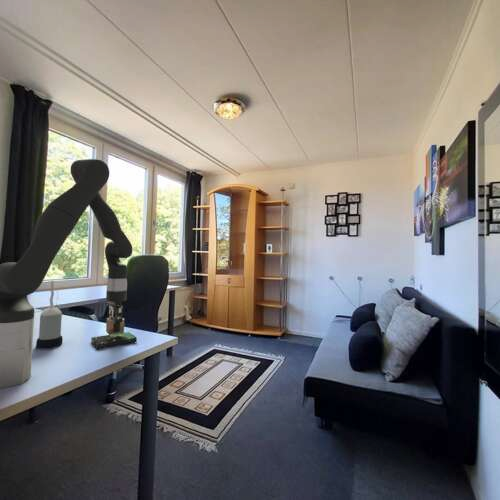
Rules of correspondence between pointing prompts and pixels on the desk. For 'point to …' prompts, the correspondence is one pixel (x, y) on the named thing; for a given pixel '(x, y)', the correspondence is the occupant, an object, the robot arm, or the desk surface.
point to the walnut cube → (111, 326)
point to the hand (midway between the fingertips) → (114, 330)
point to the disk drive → (113, 340)
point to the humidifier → (50, 326)
